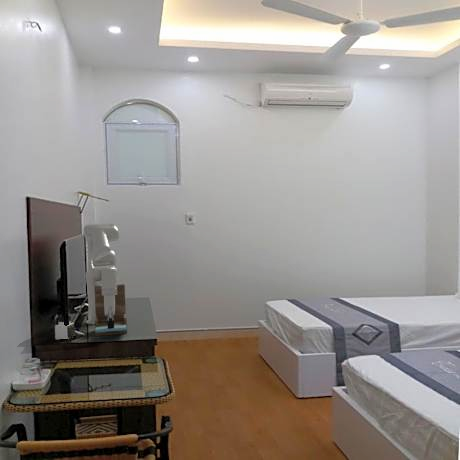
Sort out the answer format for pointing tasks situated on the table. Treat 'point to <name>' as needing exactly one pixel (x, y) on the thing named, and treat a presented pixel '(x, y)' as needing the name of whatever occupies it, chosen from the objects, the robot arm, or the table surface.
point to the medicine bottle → (64, 329)
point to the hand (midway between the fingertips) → (110, 328)
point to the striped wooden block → (119, 307)
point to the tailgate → (116, 328)
